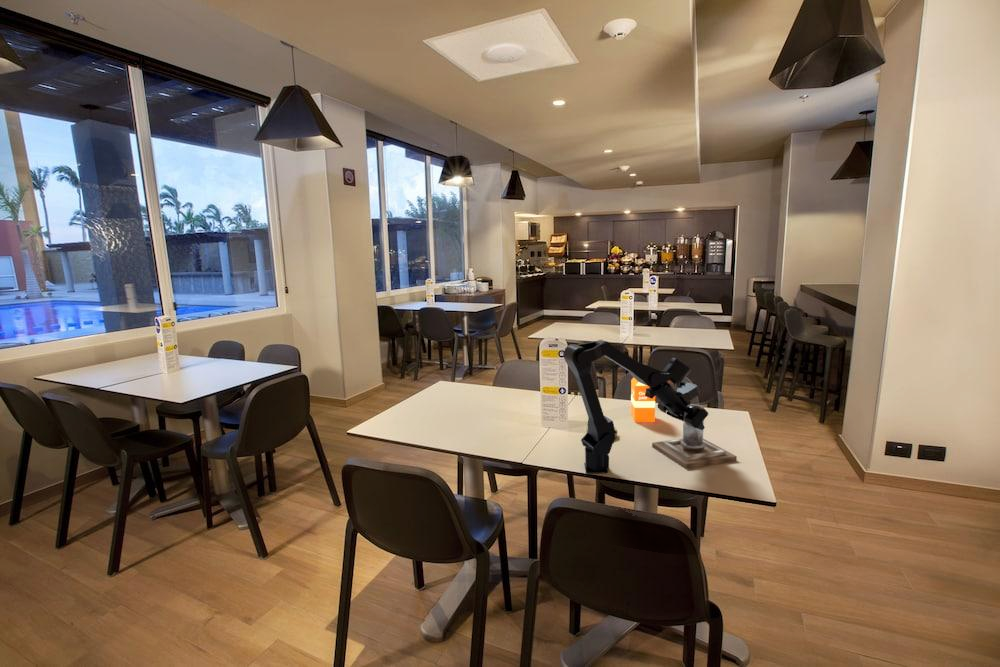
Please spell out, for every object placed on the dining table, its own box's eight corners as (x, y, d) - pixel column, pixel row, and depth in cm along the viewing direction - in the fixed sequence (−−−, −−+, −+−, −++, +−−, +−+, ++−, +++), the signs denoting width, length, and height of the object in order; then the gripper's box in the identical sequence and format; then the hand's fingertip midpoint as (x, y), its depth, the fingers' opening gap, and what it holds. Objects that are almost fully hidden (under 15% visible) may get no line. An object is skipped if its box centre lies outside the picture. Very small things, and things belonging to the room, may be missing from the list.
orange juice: (650, 415, 192) (651, 366, 189) (655, 422, 183) (656, 371, 180) (630, 415, 193) (630, 366, 190) (634, 422, 184) (634, 372, 181)
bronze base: (685, 469, 143) (686, 461, 143) (652, 447, 160) (652, 439, 160) (736, 460, 147) (736, 453, 147) (698, 440, 165) (698, 433, 164)
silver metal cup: (692, 451, 149) (693, 411, 147) (675, 443, 155) (676, 405, 153) (709, 447, 152) (711, 408, 150) (692, 440, 158) (694, 402, 156)
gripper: (704, 383, 140) (733, 415, 144) (666, 369, 158) (694, 398, 162) (679, 412, 139) (710, 443, 144) (644, 395, 157) (673, 423, 161)
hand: (696, 425), depth 153 cm, fingers closed on silver metal cup, 6 cm apart
